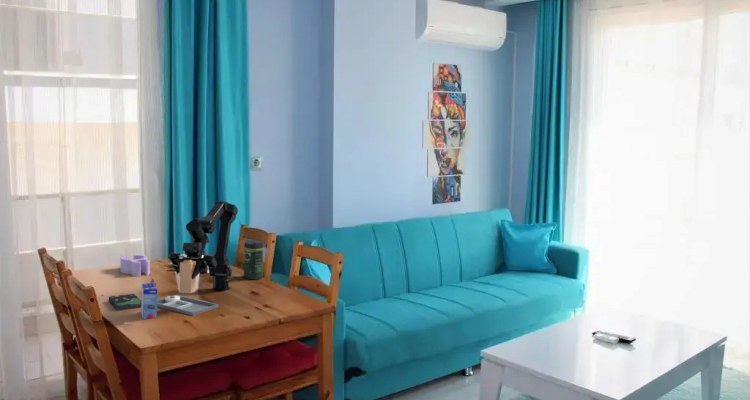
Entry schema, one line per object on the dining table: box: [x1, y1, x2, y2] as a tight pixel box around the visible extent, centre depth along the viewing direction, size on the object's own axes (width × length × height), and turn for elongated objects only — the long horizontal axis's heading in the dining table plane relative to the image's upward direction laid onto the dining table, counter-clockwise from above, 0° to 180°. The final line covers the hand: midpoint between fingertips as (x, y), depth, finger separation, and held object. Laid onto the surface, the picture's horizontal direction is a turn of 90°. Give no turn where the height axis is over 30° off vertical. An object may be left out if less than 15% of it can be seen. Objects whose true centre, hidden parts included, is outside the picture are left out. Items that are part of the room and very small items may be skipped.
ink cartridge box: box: [140, 278, 158, 320], centre depth 249 cm, size 10×6×14 cm, turn 23°
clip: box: [120, 253, 151, 277], centre depth 319 cm, size 20×12×7 cm, turn 41°
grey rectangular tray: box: [157, 294, 220, 316], centre depth 262 cm, size 24×14×3 cm, turn 60°
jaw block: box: [179, 260, 197, 294], centre depth 258 cm, size 5×5×13 cm
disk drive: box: [108, 293, 141, 312], centre depth 264 cm, size 10×3×15 cm
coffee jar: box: [243, 239, 264, 280], centre depth 315 cm, size 10×8×19 cm
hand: (186, 278), depth 257 cm, fingers closed on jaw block, 5 cm apart
